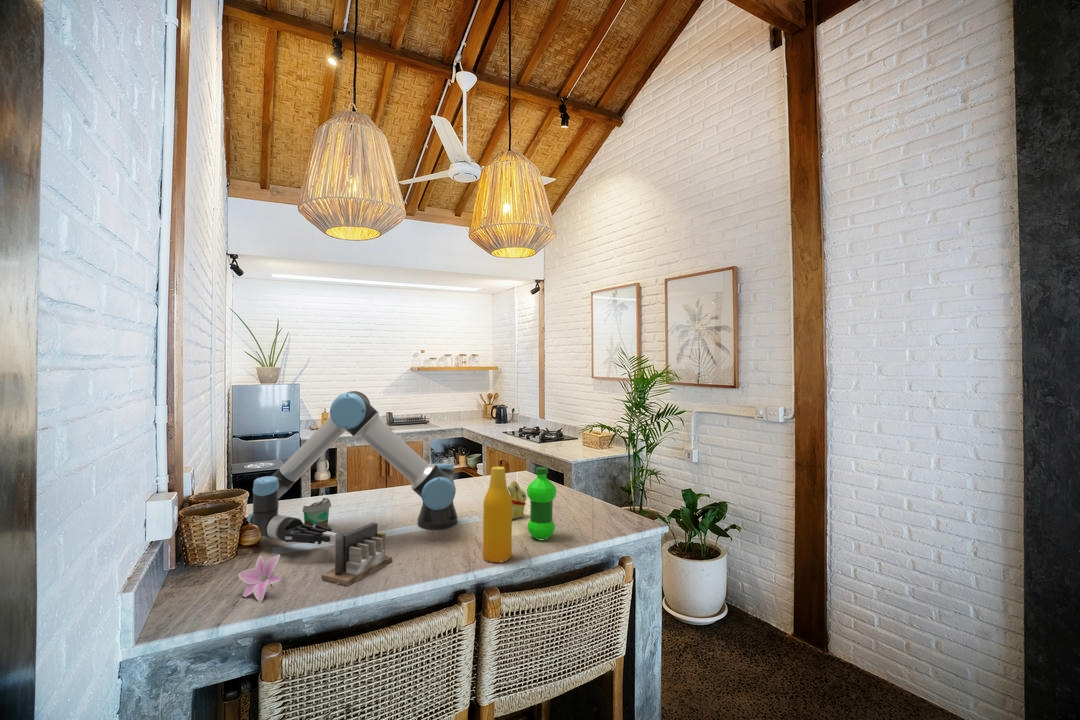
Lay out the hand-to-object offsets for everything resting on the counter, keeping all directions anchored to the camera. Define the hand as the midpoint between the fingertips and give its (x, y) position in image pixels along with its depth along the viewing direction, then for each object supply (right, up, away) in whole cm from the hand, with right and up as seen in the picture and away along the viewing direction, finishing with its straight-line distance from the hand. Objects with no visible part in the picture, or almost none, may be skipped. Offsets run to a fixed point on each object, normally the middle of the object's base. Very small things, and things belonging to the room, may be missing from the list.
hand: (340, 539), depth 157 cm
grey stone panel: (+8, -5, -4) cm, 10 cm away
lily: (-13, -7, -21) cm, 26 cm away
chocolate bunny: (+52, -8, +46) cm, 70 cm away
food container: (-19, -7, +30) cm, 36 cm away
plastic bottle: (+63, -8, +24) cm, 68 cm away
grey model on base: (+8, -7, -5) cm, 12 cm away
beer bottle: (+49, -8, +5) cm, 50 cm away
